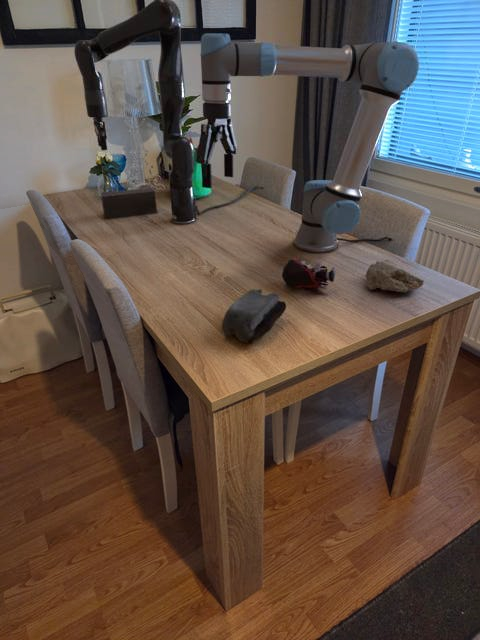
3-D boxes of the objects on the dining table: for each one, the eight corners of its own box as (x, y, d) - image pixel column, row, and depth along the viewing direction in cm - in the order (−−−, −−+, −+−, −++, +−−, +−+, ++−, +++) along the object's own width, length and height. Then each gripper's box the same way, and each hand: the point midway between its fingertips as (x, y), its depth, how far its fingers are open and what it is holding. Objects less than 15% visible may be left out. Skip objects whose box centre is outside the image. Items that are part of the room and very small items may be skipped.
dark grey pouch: (257, 354, 105) (257, 326, 101) (216, 341, 109) (215, 314, 105) (287, 319, 119) (289, 292, 114) (250, 308, 123) (250, 283, 119)
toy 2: (334, 253, 124) (283, 248, 130) (327, 283, 122) (275, 277, 127) (338, 272, 135) (291, 267, 140) (332, 300, 132) (284, 294, 138)
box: (105, 219, 187) (102, 196, 182) (104, 214, 191) (100, 192, 186) (157, 213, 193) (154, 191, 188) (154, 209, 198) (151, 187, 193)
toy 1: (167, 190, 223) (163, 137, 210) (207, 188, 227) (205, 135, 214) (172, 202, 206) (167, 145, 193) (214, 199, 210) (213, 143, 197)
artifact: (384, 303, 127) (425, 296, 132) (391, 281, 123) (434, 275, 127) (349, 272, 141) (388, 267, 145) (355, 251, 136) (395, 247, 141)
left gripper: (108, 104, 163) (115, 150, 171) (103, 100, 174) (109, 144, 182) (87, 105, 160) (95, 152, 169) (83, 101, 171) (91, 145, 180)
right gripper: (205, 107, 108) (208, 194, 119) (248, 98, 127) (247, 173, 138) (179, 105, 111) (184, 190, 122) (225, 97, 130) (226, 171, 141)
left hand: (102, 148), depth 176 cm, fingers open, 8 cm apart
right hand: (218, 182), depth 130 cm, fingers open, 13 cm apart
